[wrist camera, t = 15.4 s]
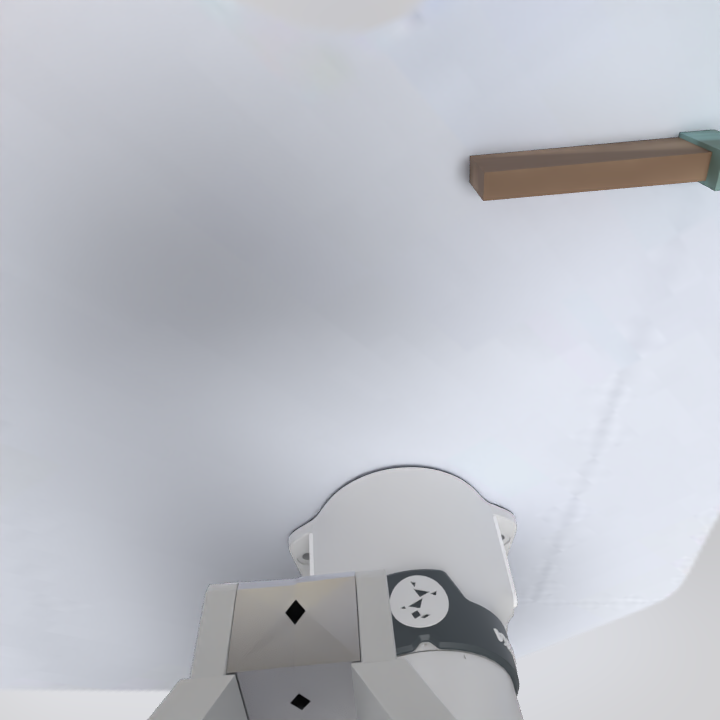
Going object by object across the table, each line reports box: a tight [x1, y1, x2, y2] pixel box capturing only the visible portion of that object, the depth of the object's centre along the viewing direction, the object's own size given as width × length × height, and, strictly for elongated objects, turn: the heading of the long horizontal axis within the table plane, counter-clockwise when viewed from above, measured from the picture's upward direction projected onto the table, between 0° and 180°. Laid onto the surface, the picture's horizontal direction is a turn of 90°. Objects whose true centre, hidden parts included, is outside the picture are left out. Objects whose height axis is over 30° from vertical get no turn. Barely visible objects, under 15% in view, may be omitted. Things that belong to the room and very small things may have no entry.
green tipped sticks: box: [470, 130, 720, 201], centre depth 30 cm, size 16×14×4 cm
